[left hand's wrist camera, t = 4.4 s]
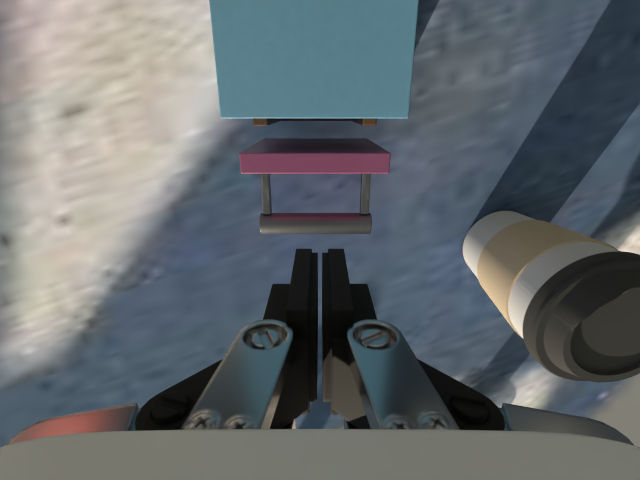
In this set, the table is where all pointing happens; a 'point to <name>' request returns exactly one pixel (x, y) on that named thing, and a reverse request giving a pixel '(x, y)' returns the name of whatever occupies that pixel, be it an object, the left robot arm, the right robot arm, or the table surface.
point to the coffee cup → (561, 294)
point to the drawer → (315, 159)
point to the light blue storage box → (314, 57)
